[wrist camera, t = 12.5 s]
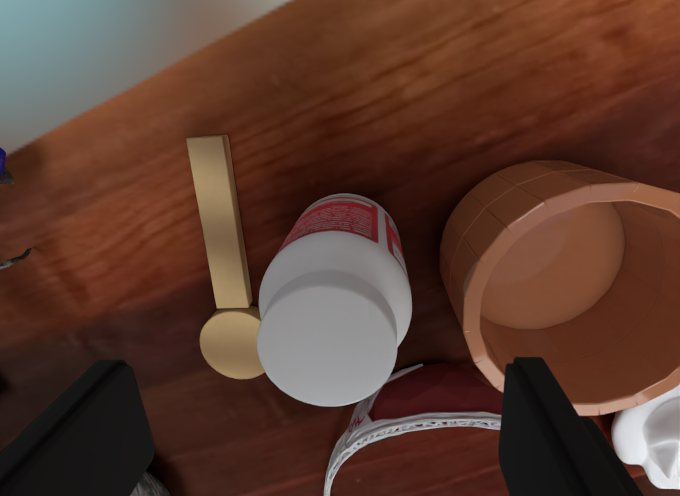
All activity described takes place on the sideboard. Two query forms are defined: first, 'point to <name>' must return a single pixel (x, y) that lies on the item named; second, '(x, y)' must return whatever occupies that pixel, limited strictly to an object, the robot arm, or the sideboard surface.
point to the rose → (651, 438)
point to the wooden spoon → (225, 262)
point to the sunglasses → (418, 408)
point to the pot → (569, 280)
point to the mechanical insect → (4, 176)
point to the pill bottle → (335, 303)
